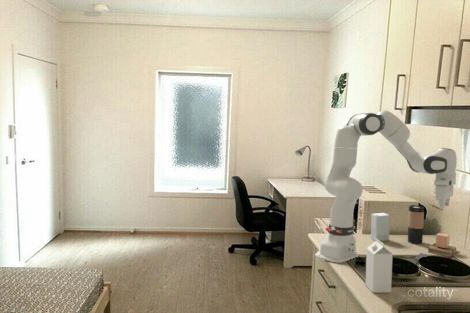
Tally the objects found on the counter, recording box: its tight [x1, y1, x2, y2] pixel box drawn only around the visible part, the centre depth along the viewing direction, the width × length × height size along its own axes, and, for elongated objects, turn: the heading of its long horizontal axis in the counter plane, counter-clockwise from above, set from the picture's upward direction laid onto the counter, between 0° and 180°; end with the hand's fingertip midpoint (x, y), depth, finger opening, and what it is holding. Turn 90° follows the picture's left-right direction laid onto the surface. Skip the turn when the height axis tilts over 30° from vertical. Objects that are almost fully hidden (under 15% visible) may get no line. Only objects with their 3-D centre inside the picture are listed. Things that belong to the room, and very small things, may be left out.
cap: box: [435, 232, 451, 248], centre depth 184 cm, size 5×5×6 cm
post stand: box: [427, 242, 457, 258], centre depth 185 cm, size 12×10×8 cm
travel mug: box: [407, 204, 425, 245], centre depth 199 cm, size 8×8×20 cm
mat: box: [413, 252, 433, 261], centre depth 174 cm, size 11×10×1 cm
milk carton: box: [365, 239, 393, 294], centre depth 140 cm, size 7×7×19 cm
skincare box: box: [370, 212, 391, 242], centre depth 204 cm, size 8×6×15 cm
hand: (444, 207), depth 183 cm, fingers open, 8 cm apart
